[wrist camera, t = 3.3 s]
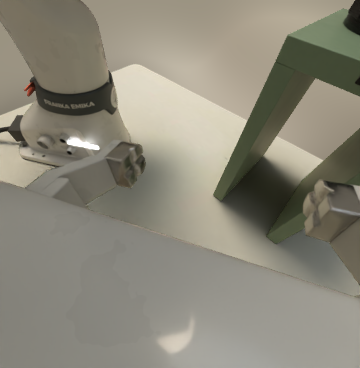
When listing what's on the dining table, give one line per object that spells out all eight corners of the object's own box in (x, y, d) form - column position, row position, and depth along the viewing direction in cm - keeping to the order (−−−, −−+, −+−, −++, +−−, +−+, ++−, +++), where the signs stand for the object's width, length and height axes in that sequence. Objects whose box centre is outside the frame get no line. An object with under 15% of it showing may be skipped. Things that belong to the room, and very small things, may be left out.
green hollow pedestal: (275, 244, 32) (513, 113, 10) (212, 195, 36) (287, 34, 15) (310, 185, 40) (482, 45, 19) (255, 151, 45) (343, 8, 23)
